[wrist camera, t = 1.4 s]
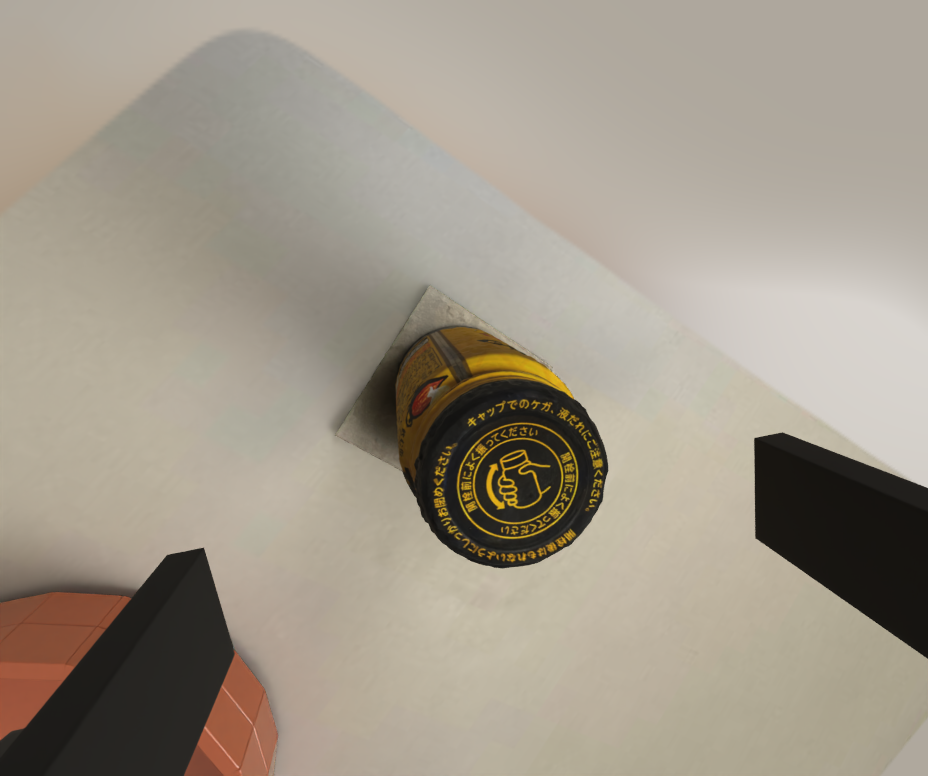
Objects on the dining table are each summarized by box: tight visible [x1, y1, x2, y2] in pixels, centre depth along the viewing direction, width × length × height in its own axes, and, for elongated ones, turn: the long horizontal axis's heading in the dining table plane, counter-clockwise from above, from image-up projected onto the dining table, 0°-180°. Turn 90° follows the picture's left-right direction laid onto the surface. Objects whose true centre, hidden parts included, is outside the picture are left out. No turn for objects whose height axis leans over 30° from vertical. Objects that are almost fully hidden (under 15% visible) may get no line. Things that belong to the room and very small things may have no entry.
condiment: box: [335, 286, 608, 568], centre depth 19 cm, size 7×8×12 cm
